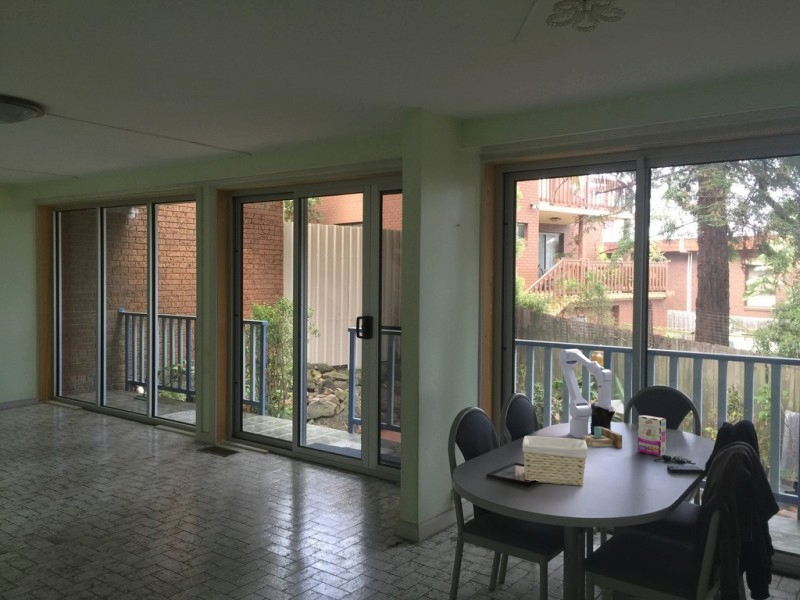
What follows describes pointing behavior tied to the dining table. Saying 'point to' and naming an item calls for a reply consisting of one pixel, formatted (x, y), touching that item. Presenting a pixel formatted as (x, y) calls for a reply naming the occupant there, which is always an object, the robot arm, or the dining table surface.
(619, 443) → the backstop wall
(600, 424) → the storage jar
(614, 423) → the dining table surface
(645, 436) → the candy bar box
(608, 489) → the dining table surface
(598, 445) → the light wooden square frame
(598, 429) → the dowel
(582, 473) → the storage basket
